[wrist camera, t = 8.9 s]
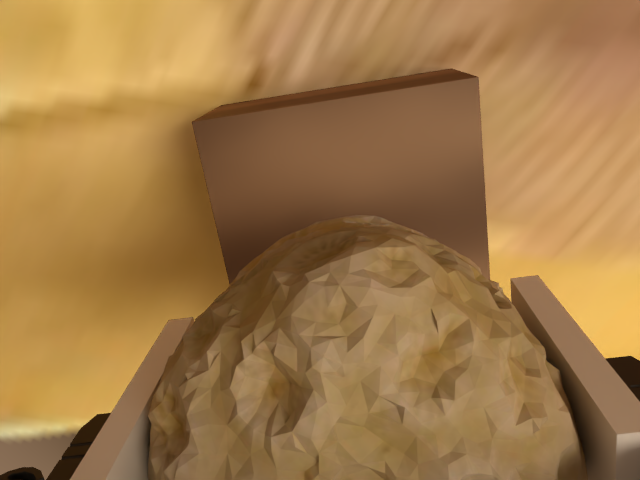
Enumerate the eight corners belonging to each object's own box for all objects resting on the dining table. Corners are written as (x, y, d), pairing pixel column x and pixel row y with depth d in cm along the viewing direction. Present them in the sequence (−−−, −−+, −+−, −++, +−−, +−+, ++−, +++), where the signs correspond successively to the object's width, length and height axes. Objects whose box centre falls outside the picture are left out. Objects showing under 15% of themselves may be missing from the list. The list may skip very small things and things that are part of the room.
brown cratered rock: (312, 505, 19) (292, 788, 12) (143, 298, 16) (-12, 499, 9) (565, 387, 17) (724, 644, 10) (414, 131, 14) (482, 224, 7)
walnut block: (221, 105, 29) (191, 121, 23) (451, 68, 28) (478, 77, 22) (264, 307, 33) (248, 363, 28) (467, 282, 32) (493, 335, 26)
